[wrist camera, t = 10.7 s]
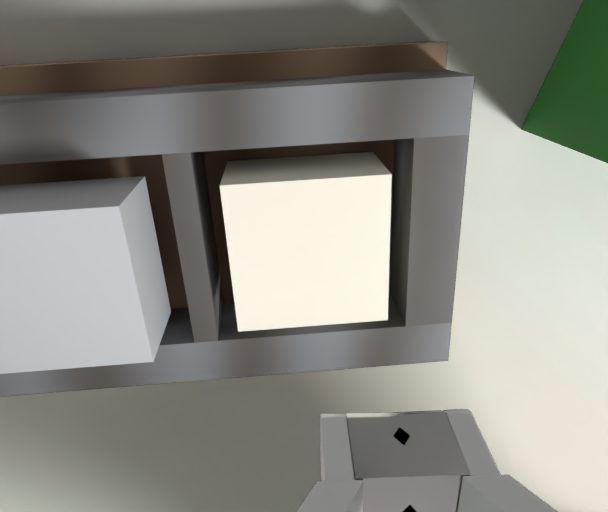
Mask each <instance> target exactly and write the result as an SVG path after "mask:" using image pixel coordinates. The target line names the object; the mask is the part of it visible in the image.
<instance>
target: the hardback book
mask: <svg viewBox="0 0 608 512" xmlns="http://www.w3.org/2000/svg"><path fill="white" fill-rule="evenodd" d="M521 129H522V130H524V131H527V132H529V133H532V134H535V135H537V136H540V137H542V138H545V139H547V140H550V141H553V142H555V143H558V144H560V145H563V146H565V147H568V148H570V149H573V150H576V151H578V152H581V153H583V154H586V155H588V156H591V157H594V158H596V159H599V160H601V161H604V162H606V163H608V0H583V2H582V5H581V7H580V9H579V11H578V13H577V15H576V17H575V19H574V21H573V23H572V25H571V27H570V29H569V31H568V33H567V35H566V38H565V40H564V42H563V44H562V46H561V48H560V50H559V52H558V54H557V56H556V58H555V60H554V62H553V64H552V66H551V69H550V71H549V73H548V75H547V77H546V79H545V81H544V83H543V85H542V87H541V89H540V91H539V93H538V95H537V97H536V100H535V102H534V104H533V106H532V108H531V110H530V112H529V114H528V116H527V118H526V120H525V122H524V124H523V126H522V128H521Z"/></svg>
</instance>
